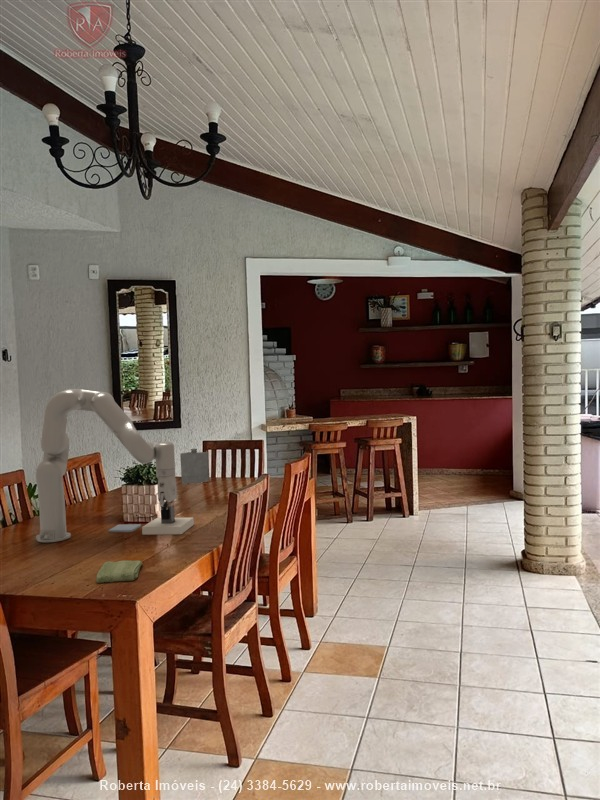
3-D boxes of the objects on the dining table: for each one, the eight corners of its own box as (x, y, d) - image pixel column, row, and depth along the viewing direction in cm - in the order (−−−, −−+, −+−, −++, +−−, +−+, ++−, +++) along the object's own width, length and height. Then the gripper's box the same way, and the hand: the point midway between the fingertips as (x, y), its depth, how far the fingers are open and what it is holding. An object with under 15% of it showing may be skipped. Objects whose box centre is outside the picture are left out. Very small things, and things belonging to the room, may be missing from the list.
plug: (171, 530, 266) (170, 503, 265) (161, 530, 266) (160, 503, 266) (175, 528, 270) (174, 501, 269) (165, 528, 271) (163, 501, 270)
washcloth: (143, 565, 220) (143, 556, 219) (137, 582, 202) (136, 572, 202) (103, 568, 218) (102, 559, 218) (92, 585, 200) (92, 575, 200)
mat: (131, 532, 266) (131, 530, 266) (108, 532, 268) (108, 530, 268) (141, 526, 276) (141, 524, 276) (118, 526, 277) (118, 524, 277)
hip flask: (209, 482, 382) (208, 447, 382) (209, 483, 378) (207, 448, 378) (182, 483, 382) (180, 448, 381) (181, 484, 378) (179, 449, 377)
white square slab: (181, 534, 259) (181, 526, 259) (142, 534, 261) (142, 527, 261) (193, 524, 275) (193, 517, 275) (156, 524, 277) (156, 517, 277)
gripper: (167, 476, 258) (169, 522, 259) (181, 469, 275) (183, 513, 276) (149, 476, 259) (151, 522, 260) (164, 470, 276) (166, 513, 277)
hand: (167, 517), depth 268 cm, fingers closed on plug, 4 cm apart
